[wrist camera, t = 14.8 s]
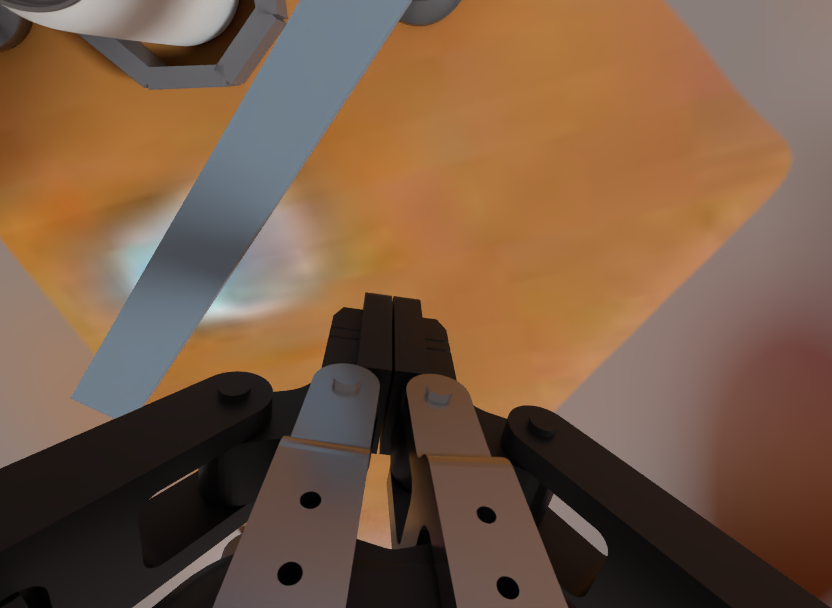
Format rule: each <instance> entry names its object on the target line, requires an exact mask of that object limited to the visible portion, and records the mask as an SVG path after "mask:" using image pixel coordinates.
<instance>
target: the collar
mask: <svg viewBox="0 0 832 608" xmlns="http://www.w3.org/2000/svg"><path fill="white" fill-rule="evenodd" d="M254 1H255V7H256V8H255V9H254V11H253V12H252V13H251V15H250V16H249V18H248V19H247V21H246V22H245V24H244V25H243V27H242V28H241V30H240V31H239V33H238V34H237V36H236V37H235V39H234V40H233V41H232V43H231V44H230V46H229V47H228V49H227V50H226V52H225V53H224V55H223V56H222V58H221V59H220V61H219V62H218V64H217V65H194V66H168V65H167V64H166V63H164V62H163V61H162V60H161V59H160V58H158V57H157V56H156V55H155V54H154V53H153V52H151V51H150V50H149V49H148V48H147V47H145V46H144V45H143V44H142V43H141V42H139V41H133V40H125V39H117V38H109V37H101V36H94V35H86V34H79V33H77V34H78V35H79V36H81V37H82V38H83V39H84V40H86V41H87V42H88V43H89V44H91V45H92V46H93V47H94V48H96V49H97V50H98V51H99V52H100V53H102V54H103V55H104V56H105V57H107V58H108V59H109V60H110V61H112V62H113V63H114V64H115V65H117V66H118V67H119V68H120V69H121V70H123V71H124V72H125V73H126V74H128V75H129V76H130V77H131V78H133V79H134V80H135V81H136V82H138V83H139V84H140V85H141V86H142V87H144V88H149V90H152V89H178V88H203V87H228V86H237V85H241V83H245V82H246V80H247V79H248V77H249V76H250V75H251V73H252V72H253V70H254V69H255V68H256V66H257V65H258V63H259V62H260V61H261V59H262V58H263V56H264V55H265V54H266V52H267V51H268V49H269V48H270V46H271V45H272V44H273V42H274V41H275V39H276V38H277V37H278V35H279V34H280V32H281V31H282V30H283V28H284V27H285V25H286V24H287V23H286V22H285V21H284V20H283V19H288V17H287V9H286V2H285V0H254Z"/></svg>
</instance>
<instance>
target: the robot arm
mask: <svg viewBox="0 0 832 608" xmlns="http://www.w3.org/2000/svg"><path fill="white" fill-rule="evenodd" d="M379 438H380V453H379V454H385V455H391V461H390V469H389V474H388V479H387V493H388V505H389V518H390V530H391V542H392V549H387V548H383V547H380V546H377V545H374V544H371V543H368V542H365V541H361V540H358V539H356V538H357V532H358V526H359V519H360V513H361V507H362V500H363V494H364V488H365V481H366V475H367V471H368V468H369V463H370V458H371V453H373V454H377V449H378V443H379ZM196 469H198V471H197V472H195V473H193V474H192V475H190V476H188V477H187V478H185V479H183V480H182V481H180V482H178V483H177V484H175V485H173V486H171V487H170V488H168V489H166V490H165V491H163V492H161V493H160V494H158V495H156V496H155V497H153V498H151V497H152V496H153V495H154V494H156V493H157V492H159V491H160V490H162V489H164V488H165V487H167V486H169V485H170V484H172V483H174V482H176V481H177V480H179V479H180V478H182V477H184V476H186V475H187V474H189V473H191V472H193V471H194V470H196ZM553 494H555V495H556V496H558V497H559V498H560V499H561V500H562V501H564V502H565V503H566V504H567V505H568V506H570V507H571V508H572V509H573V510H575V511H576V512H577V513H578V514H579V515H580V516H581V517H583V518H584V519H585V520H586V521H587V522H589V523H590V524H591V525H592V526H593V527H595V528H596V529H597V530H598V531H599V532H600V533H601V535H602V536H603V538H604V539H605V541H606V544H607V547H608V556H605V555H603V554H602V553H601V552H599V551H598V550H597V549H596V548H595V547H594V546H593V545H591V544H590V543H589V542H588V541H587V540H586V539H585V538H583V537H582V536H581V535H580V534H579V533H578V532H576V531H575V530H574V529H573V528H572V527H571V526H570V525H568V524H567V523H566V522H565V521H564V520H563V519H561V518H560V517H559V516H558V515H557V514H556V513H555V512H553V511H552V510H551V509H550V508H549V507H548V505H549V503H550V501H551V499H552V496H553ZM150 498H151V499H150ZM246 522H247V524H246V526H245V529H244V531H243V534H241V535H239V536H237V537H235V538H234V539H233V540H231V541H230V542H229V543H228V544H227V546H226V547H225V549H224V551H223V554H222V557H221V559H220V560H218V561H216V562H214V563H212V564H210V565H208V566H206V567H205V568H203V569H202V570H200V571H199V572H197V573H196V574H194V575H192V576H191V577H190V578H189V579H187V580H186V581H184V582H183V583H182V584H180V585H179V586H178V587H177V588H176V589H174V590H173V591H172V592H171V593H169V594H168V595H167V596H166V597H164V598H163V599H162V600H161V601H159V602H158V603H157V604H156V605H155V606H153V607H152V608H830V607H829V606H827V605H826V604H825V603H823V602H822V601H820V600H819V599H818V598H816V597H815V596H813V595H812V594H810V593H809V592H808V591H806V590H805V589H803V588H802V587H801V586H799V585H798V584H796V583H795V582H793V581H792V580H790V579H789V578H788V577H786V576H785V575H784V574H782V573H781V572H779V571H778V570H777V569H775V568H774V567H772V566H771V565H769V564H768V563H767V562H765V561H764V560H762V559H761V558H760V557H758V556H757V555H755V554H754V553H752V552H751V551H750V550H748V549H747V548H745V547H744V546H743V545H741V544H740V543H738V542H737V541H735V540H734V539H733V538H731V537H730V536H728V535H727V534H726V533H724V532H723V531H721V530H720V529H719V528H717V527H716V526H714V525H713V524H711V523H710V522H709V521H707V520H706V519H704V518H703V517H701V516H700V515H699V514H697V513H696V512H695V511H693V510H692V509H690V508H689V507H687V506H686V505H685V504H683V503H682V502H680V501H679V500H678V499H676V498H675V497H673V496H672V495H670V494H669V493H668V492H666V491H665V490H663V489H662V488H660V487H659V486H658V485H656V484H655V483H653V482H652V481H651V480H649V479H648V478H646V477H645V476H644V475H642V474H641V473H639V472H638V471H636V470H635V469H634V468H632V467H631V466H629V465H628V464H627V463H625V462H624V461H622V460H621V459H620V458H618V457H617V456H615V455H614V454H612V453H611V452H610V451H608V450H607V449H605V448H604V447H603V446H601V445H600V444H598V443H597V442H595V441H594V440H593V439H591V438H590V437H588V436H587V435H586V434H584V433H583V432H581V431H580V430H579V429H577V428H576V427H574V426H573V425H571V424H570V423H569V422H567V421H566V420H564V419H563V418H561V417H560V416H559V415H557V414H555V413H553V412H551V411H549V410H547V409H544V408H541V407H537V406H529V405H528V406H519V407H517V408H514V409H513V410H512V411H511V412H510V413H509V416H508V419H506V418H503V417H500V416H497V415H494V414H491V413H488V412H485V411H483V410H481V409H479V408H477V407H475V406H474V405H473V403H472V400H471V397H470V395H469V393H468V391H467V390H466V388H465V387H464V386H463V385H461V384H460V383H459V382H457V380H456V375H455V370H454V365H453V361H452V356H451V353H450V346H449V343H448V336H447V332H446V329H445V328H444V327H443V326H442V325H441V324H440V323H439V322H438V320H436V319H429V318H422V310H421V302H420V300H418V299H411V298H403V297H396V296H394V297H393V301H392V296H388V295H381V294H374V293H367V292H366V293H365V299H364V306H363V310H361V309H353V308H346V307H343V308H342V309H341V310H340V311H338V312H337V313H336V314H335V315H334V316H333V320H332V325H331V329H330V333H329V338H328V342H327V347H326V351H325V355H324V360H323V364H322V368H321V369H320V370H319V371H317V372H316V374H315V375H314V377H313V379H312V382H311V383H310V384H308V385H306V386H304V387H301V388H298V389H294V390H288V391H279V392H273V389H272V387H271V385H270V383H269V382H268V381H267V380H266V379H264V378H262V377H261V376H258V375H256V374H253V373H248V372H226V373H221V374H218V375H215V376H212V377H210V378H208V379H205V380H203V381H201V382H198V383H196V384H194V385H191V386H189V387H187V388H185V389H182V390H180V391H178V392H175V393H173V394H171V395H168V396H166V397H164V398H162V399H159V400H157V401H155V402H152V403H150V404H148V405H145V406H143V407H141V408H139V409H136V410H134V411H132V412H129V413H127V414H125V415H122V416H120V417H118V418H116V419H113V420H111V421H109V422H106V423H104V424H102V425H99V426H97V427H95V428H93V429H90V430H88V431H86V432H84V433H81V434H79V435H76V436H74V437H72V438H70V439H67V440H65V441H63V442H60V443H58V444H56V445H54V446H51V447H49V448H47V449H44V450H42V451H40V452H37V453H35V454H33V455H31V456H28V457H26V458H24V459H21V460H19V461H17V462H14V463H12V464H10V465H8V466H5V467H3V468H1V469H0V608H132V607H134V606H135V605H136V604H137V603H139V602H140V601H141V600H143V599H144V598H146V597H147V596H148V595H150V594H151V593H152V592H154V591H155V590H156V589H157V588H159V587H160V586H161V585H163V584H164V583H166V582H167V581H168V580H169V579H171V578H172V577H174V576H175V575H176V574H178V573H179V572H180V571H182V570H183V569H184V568H186V567H187V566H188V565H190V564H191V563H192V562H194V561H195V560H196V559H198V558H199V557H200V556H202V555H203V554H204V553H206V552H207V551H209V550H210V549H211V548H213V547H214V546H215V545H217V544H218V543H219V542H221V541H222V540H223V539H224V538H226V537H227V536H229V535H230V534H231V533H233V532H234V531H235V530H237V529H238V528H239V527H241V526H242V525H243V524H245V523H246Z"/></svg>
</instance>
